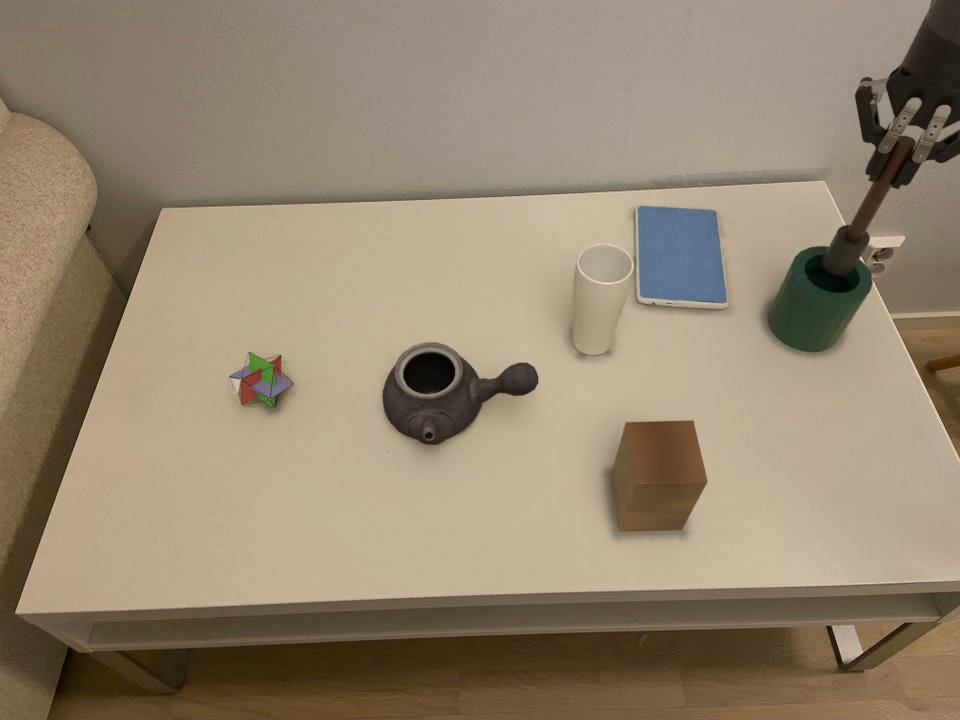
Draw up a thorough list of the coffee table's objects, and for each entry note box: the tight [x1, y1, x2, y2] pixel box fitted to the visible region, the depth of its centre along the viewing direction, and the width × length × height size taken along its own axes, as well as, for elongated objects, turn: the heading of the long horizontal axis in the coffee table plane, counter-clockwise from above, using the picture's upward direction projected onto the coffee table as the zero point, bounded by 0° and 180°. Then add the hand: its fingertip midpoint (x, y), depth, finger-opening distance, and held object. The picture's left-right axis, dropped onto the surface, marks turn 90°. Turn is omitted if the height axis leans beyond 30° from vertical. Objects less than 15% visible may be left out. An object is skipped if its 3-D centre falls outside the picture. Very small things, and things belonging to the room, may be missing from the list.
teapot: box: [381, 341, 539, 446], centre depth 83 cm, size 19×15×10 cm
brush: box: [822, 135, 917, 276], centre depth 78 cm, size 4×4×18 cm
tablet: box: [634, 204, 730, 310], centre depth 101 cm, size 19×13×1 cm, turn 173°
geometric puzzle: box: [228, 350, 295, 409], centre depth 87 cm, size 7×7×8 cm
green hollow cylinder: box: [767, 245, 874, 353], centre depth 90 cm, size 9×9×10 cm
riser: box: [610, 419, 709, 533], centre depth 75 cm, size 7×7×12 cm
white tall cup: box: [571, 242, 635, 356], centre depth 87 cm, size 7×7×15 cm
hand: (884, 180), depth 74 cm, fingers closed on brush, 2 cm apart
